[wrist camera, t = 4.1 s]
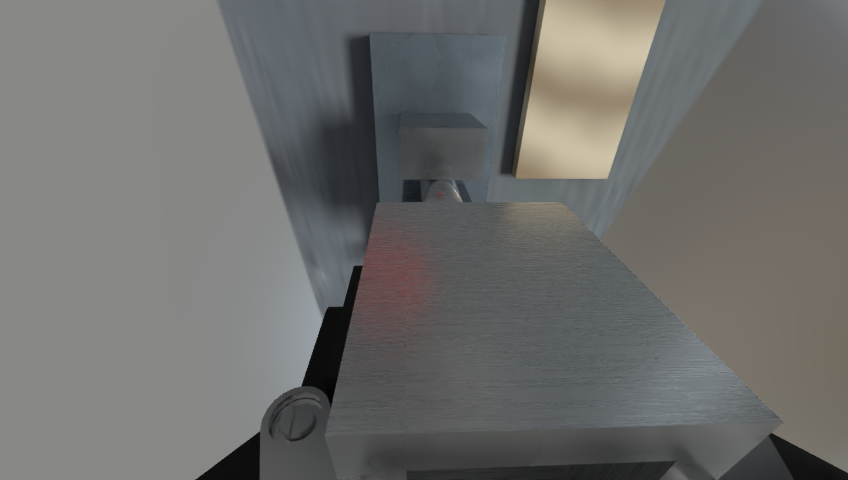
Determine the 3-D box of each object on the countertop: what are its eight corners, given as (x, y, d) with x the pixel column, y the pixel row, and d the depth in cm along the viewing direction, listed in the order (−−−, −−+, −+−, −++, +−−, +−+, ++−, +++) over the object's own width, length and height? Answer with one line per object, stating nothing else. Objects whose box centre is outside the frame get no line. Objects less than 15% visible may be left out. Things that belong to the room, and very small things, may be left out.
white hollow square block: (377, 202, 10) (324, 436, 4) (561, 202, 10) (783, 422, 4) (385, 332, 13) (364, 574, 7) (526, 330, 13) (623, 562, 7)
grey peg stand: (372, 34, 22) (324, 0, 9) (499, 37, 22) (608, 7, 10) (384, 251, 31) (368, 375, 18) (474, 251, 31) (515, 372, 19)
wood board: (545, -35, 20) (552, -40, 19) (663, -31, 20) (677, -36, 19) (511, 173, 27) (515, 178, 26) (599, 174, 27) (607, 178, 26)
